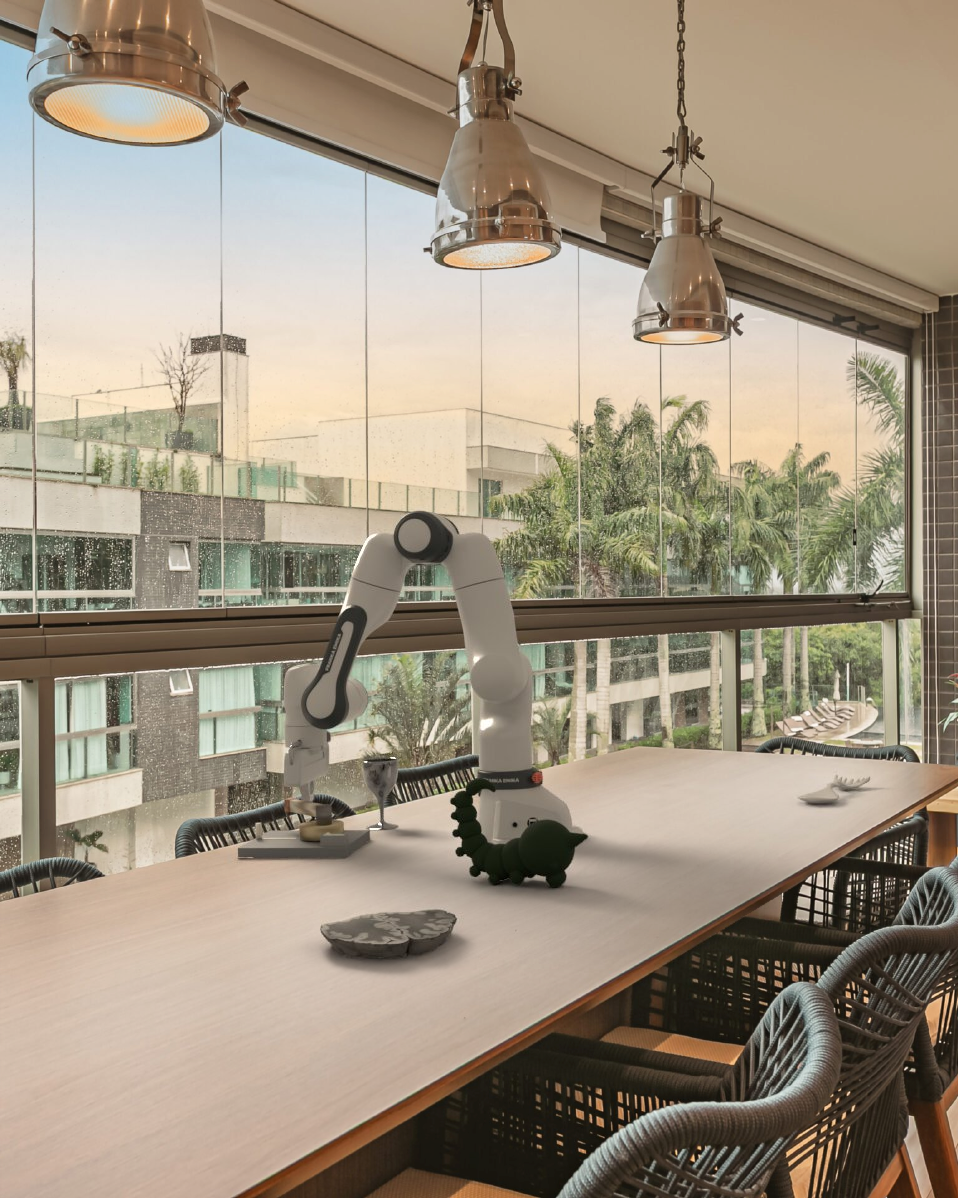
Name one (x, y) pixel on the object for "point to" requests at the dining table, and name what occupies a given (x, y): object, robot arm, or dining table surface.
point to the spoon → (828, 793)
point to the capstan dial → (323, 819)
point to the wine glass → (380, 783)
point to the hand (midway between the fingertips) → (307, 802)
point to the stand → (303, 844)
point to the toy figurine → (513, 844)
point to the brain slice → (390, 933)
